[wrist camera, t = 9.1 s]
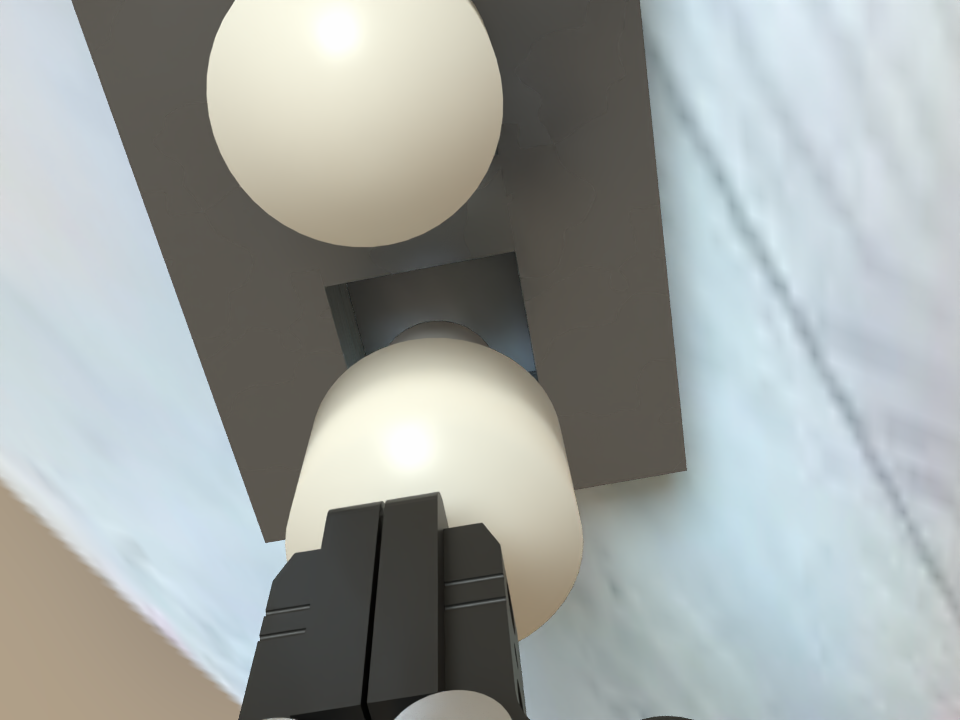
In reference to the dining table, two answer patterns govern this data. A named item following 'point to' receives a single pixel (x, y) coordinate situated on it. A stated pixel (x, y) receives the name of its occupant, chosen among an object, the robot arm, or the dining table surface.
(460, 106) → the knob mid
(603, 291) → the mount panel
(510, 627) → the robot arm
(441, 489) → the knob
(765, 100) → the dining table surface
